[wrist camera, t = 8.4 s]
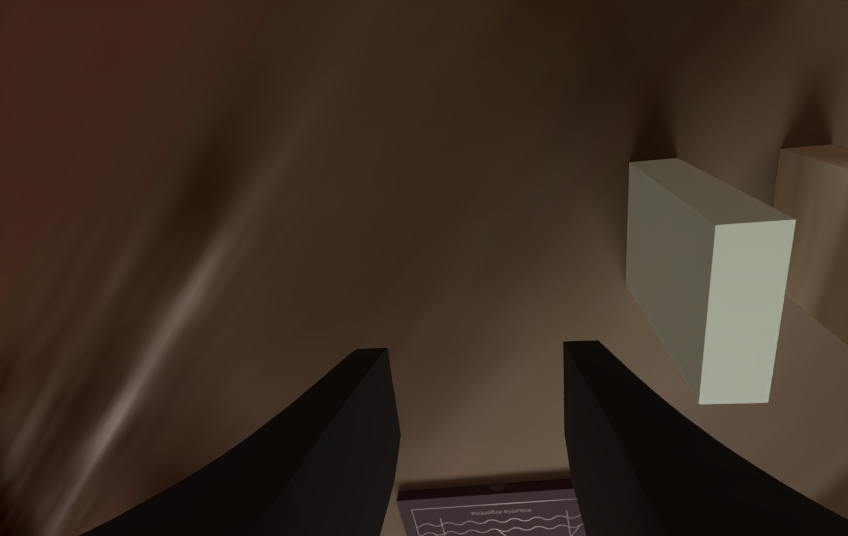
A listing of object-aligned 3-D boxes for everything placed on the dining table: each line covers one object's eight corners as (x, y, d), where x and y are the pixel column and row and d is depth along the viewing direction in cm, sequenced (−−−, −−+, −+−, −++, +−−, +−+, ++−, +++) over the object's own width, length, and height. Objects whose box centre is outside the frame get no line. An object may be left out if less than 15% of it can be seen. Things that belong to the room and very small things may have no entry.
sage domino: (677, 158, 17) (796, 219, 10) (669, 282, 18) (768, 402, 12) (629, 162, 17) (715, 224, 11) (625, 284, 19) (698, 404, 12)
